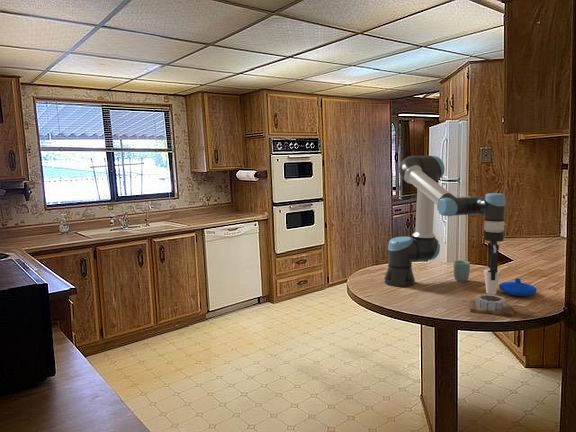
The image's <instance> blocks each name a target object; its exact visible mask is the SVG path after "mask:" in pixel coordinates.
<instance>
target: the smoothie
mask: <svg viewBox="0 0 576 432" xmlns="http://www.w3.org/2000/svg"><path fill="white" fill-rule="evenodd" d="M497 270H498V271H497V277H496V288H489V272H488V271H490V269H488V268H485V269H483V274H484V282H485V294H492V295H497V290H498V286H499V285H498V283H499V278H500V275H501V270H499V269H497Z"/></svg>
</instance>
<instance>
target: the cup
mask: <svg viewBox="0 0 576 432" xmlns="http://www.w3.org/2000/svg"><path fill="white" fill-rule="evenodd" d="M470 268H471V263H470V261H468V260H454V261H453V279H455V281H457V282H459V283H460V282H461V283H465V282H467V281H468V280H469V277H470V273H471V270H470Z"/></svg>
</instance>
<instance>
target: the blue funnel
mask: <svg viewBox="0 0 576 432" xmlns="http://www.w3.org/2000/svg"><path fill="white" fill-rule="evenodd" d="M498 287H499V289H500V291H502V292H504V293H505V294H508V295H510V296H511V295H512V296H515V297H516V296H518V297H528V296H531V295H534V294H536V292H537V288H536V287H535V285H533V284H530V283H526V282H522V280H521V278H515V280H514V281H504V282H501V283H500V284H499V285H498Z"/></svg>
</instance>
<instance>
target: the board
mask: <svg viewBox="0 0 576 432" xmlns="http://www.w3.org/2000/svg"><path fill="white" fill-rule="evenodd" d="M468 305H469V312H470V313H478V312H480V314H488V313H491V315H499V314H500V316H501V315H502V316H509V315H513V316H514V311H513V309H512V307H511V304H510V303H507V302H506V309H505V310H502V311H489V310H484V309H480V308H478V307H476V305H475V300H471V299H470V300H468ZM492 313H493V314H492Z"/></svg>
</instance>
